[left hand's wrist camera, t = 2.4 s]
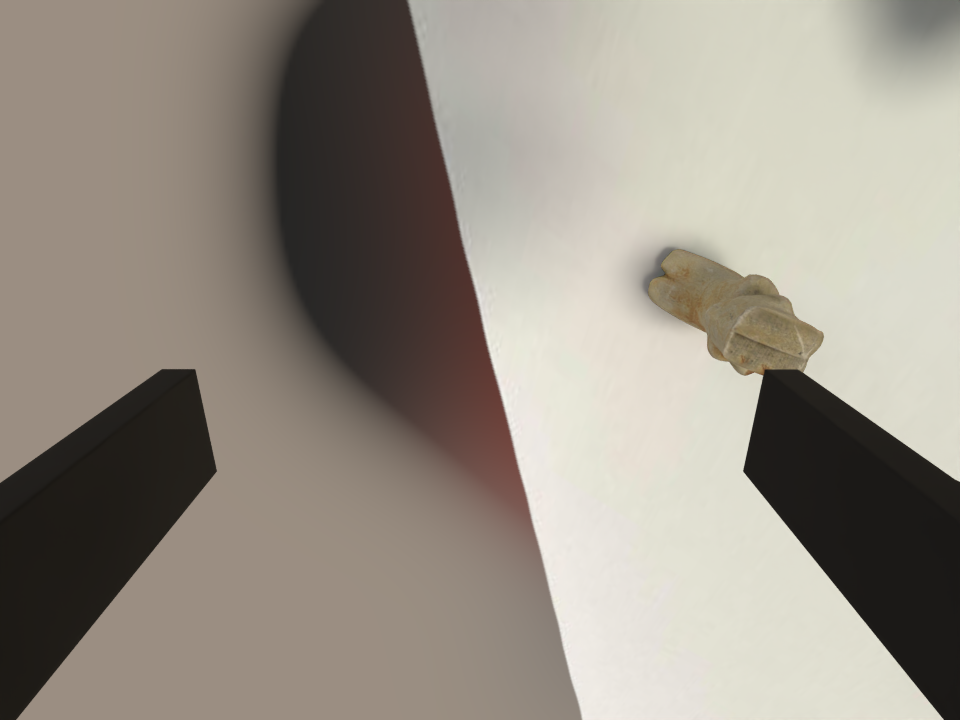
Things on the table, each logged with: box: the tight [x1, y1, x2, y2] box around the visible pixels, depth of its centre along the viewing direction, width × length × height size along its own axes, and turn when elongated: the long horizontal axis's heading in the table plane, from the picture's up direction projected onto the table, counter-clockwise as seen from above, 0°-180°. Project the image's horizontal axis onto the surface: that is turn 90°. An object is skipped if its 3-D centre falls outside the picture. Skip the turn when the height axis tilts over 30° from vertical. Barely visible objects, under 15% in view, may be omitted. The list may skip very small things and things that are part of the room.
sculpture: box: [648, 249, 824, 376], centre depth 36 cm, size 6×7×15 cm
